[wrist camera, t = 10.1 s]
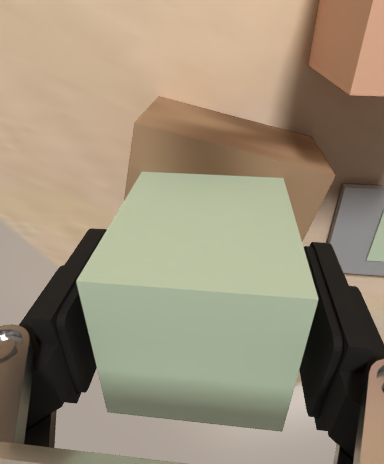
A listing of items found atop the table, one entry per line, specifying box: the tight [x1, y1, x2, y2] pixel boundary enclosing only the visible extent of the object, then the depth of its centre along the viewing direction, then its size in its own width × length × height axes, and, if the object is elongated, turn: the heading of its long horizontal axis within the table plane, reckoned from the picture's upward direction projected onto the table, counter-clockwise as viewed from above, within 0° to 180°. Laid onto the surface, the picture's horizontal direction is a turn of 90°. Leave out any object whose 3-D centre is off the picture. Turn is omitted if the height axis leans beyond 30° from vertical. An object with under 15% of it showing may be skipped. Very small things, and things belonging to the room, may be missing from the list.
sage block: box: [76, 172, 319, 431], centre depth 11 cm, size 5×5×6 cm
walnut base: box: [124, 96, 336, 241], centre depth 15 cm, size 7×7×4 cm
